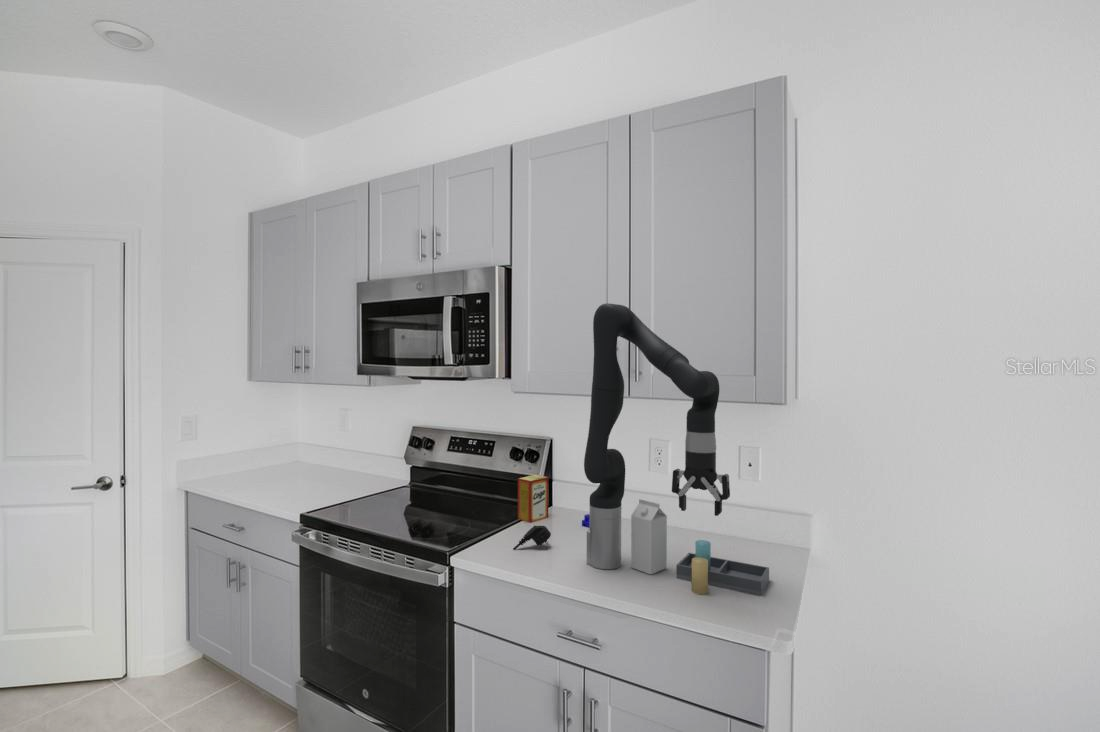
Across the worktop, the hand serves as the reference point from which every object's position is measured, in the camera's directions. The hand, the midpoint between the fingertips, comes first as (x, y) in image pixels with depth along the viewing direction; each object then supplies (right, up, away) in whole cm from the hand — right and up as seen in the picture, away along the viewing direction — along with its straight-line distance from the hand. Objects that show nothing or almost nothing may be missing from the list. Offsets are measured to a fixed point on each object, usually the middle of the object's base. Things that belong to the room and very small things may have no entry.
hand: (700, 512), depth 139 cm
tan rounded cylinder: (0, -20, 0) cm, 20 cm away
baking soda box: (-45, -20, +63) cm, 80 cm away
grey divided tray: (+8, -20, +8) cm, 23 cm away
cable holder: (-23, -20, +54) cm, 62 cm away
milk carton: (-10, -20, +15) cm, 27 cm away
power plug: (-48, -22, +31) cm, 61 cm away
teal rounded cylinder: (+4, -19, +11) cm, 22 cm away
